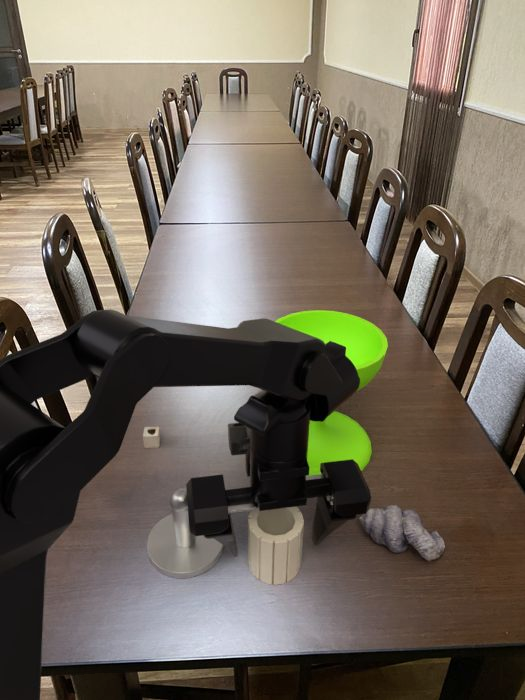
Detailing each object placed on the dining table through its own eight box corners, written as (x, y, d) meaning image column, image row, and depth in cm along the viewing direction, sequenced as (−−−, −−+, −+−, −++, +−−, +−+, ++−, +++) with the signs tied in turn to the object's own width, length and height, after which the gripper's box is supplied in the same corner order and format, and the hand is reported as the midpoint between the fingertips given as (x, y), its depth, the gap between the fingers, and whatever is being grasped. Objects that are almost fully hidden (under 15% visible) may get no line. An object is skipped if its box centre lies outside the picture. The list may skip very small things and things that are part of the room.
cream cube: (160, 438, 80) (159, 425, 79) (159, 447, 78) (157, 434, 77) (145, 438, 80) (144, 425, 79) (144, 448, 78) (142, 435, 77)
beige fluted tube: (252, 588, 59) (252, 546, 55) (245, 543, 64) (244, 502, 60) (306, 580, 60) (309, 538, 56) (294, 537, 65) (296, 495, 61)
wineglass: (325, 398, 89) (334, 300, 79) (395, 455, 77) (414, 348, 68) (242, 432, 81) (241, 328, 72) (305, 500, 70) (314, 387, 61)
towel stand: (147, 584, 59) (138, 529, 55) (147, 520, 67) (140, 468, 62) (228, 572, 61) (226, 518, 56) (220, 511, 68) (217, 459, 64)
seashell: (441, 560, 64) (357, 537, 67) (448, 515, 64) (365, 494, 67) (442, 571, 59) (352, 546, 62) (450, 522, 59) (360, 499, 62)
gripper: (345, 386, 61) (335, 486, 69) (179, 402, 58) (188, 504, 66) (380, 453, 51) (363, 559, 59) (184, 475, 49) (194, 583, 57)
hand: (275, 547), depth 61 cm, fingers open, 9 cm apart
